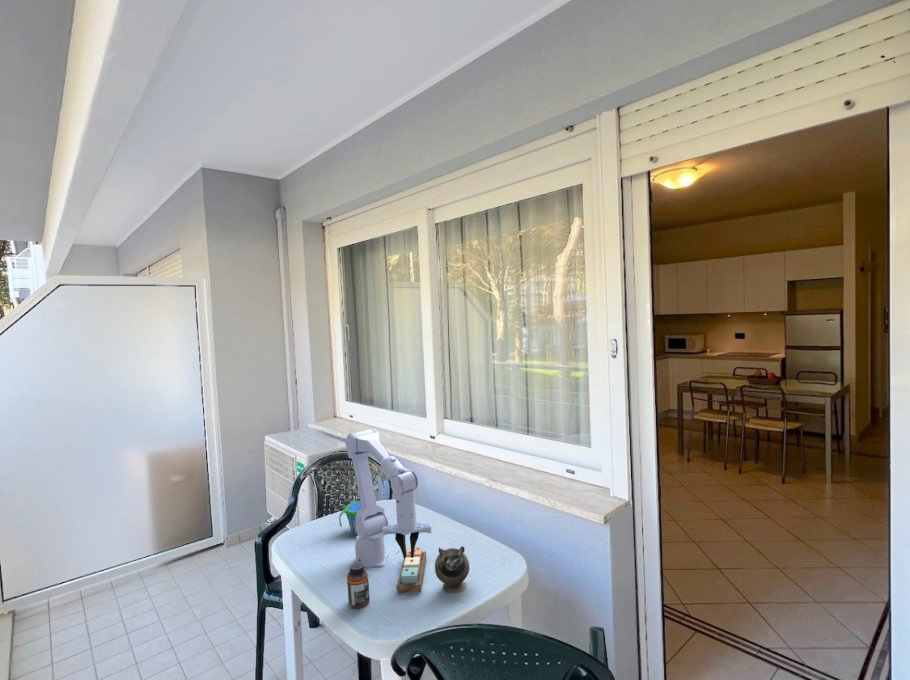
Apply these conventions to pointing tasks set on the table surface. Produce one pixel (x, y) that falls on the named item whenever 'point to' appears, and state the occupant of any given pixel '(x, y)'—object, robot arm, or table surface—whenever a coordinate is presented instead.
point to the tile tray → (412, 587)
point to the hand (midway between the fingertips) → (408, 556)
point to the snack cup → (351, 515)
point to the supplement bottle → (358, 585)
